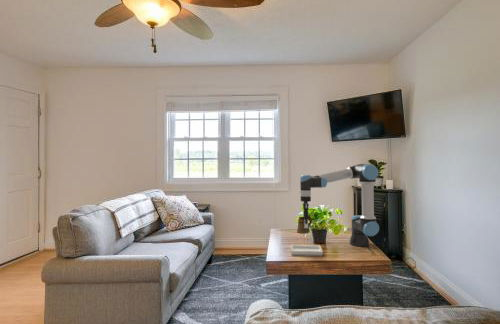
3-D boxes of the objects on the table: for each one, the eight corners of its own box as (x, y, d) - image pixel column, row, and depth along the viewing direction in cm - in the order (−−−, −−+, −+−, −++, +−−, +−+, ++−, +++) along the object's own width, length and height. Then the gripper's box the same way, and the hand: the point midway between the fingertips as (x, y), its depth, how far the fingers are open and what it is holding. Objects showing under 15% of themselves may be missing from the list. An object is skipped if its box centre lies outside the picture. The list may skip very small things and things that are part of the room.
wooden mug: (314, 234, 223) (314, 209, 223) (295, 233, 228) (295, 209, 228) (316, 231, 232) (315, 207, 232) (298, 230, 236) (297, 207, 236)
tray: (320, 249, 237) (320, 245, 237) (322, 255, 221) (322, 251, 221) (291, 248, 240) (291, 244, 240) (291, 255, 224) (291, 251, 224)
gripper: (299, 194, 240) (300, 224, 241) (301, 197, 221) (301, 229, 221) (309, 194, 240) (309, 224, 240) (311, 197, 220) (312, 230, 220)
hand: (305, 226), depth 230 cm, fingers closed on wooden mug, 7 cm apart
